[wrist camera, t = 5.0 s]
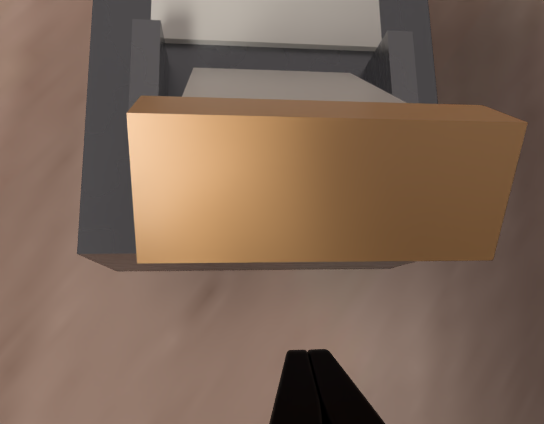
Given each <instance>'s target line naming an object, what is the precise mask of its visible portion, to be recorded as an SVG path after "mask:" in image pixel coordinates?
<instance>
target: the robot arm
mask: <svg viewBox="0 0 544 424" xmlns="http://www.w3.org/2000/svg"><path fill="white" fill-rule="evenodd" d="M269 424H385V423H384V422H383V420H382V419H381V418H380V416H379V415H378V414H377V412H376V411H375V410H374V409H373V407H372V406H371V405H370V403H369V402H368V401H367V400H366V398H365V397H364V396H363V394H362V393H361V392H360V390H359V389H358V388H357V387H356V385H355V384H354V383H353V381H352V380H351V379H350V377H349V376H348V375H347V374H346V372H345V371H344V370H343V368H342V367H341V366H340V365H339V363H338V362H337V361H336V359H335V358H334V357H333V355H332V354H331V353H330V352H329V351H328V350H326V349H315V350H309V351H308V352H307V351H306V350H289V351H288V352H287V354H286V358H285V362H284V366H283V370H282V374H281V378H280V382H279V386H278V390H277V394H276V398H275V403H274V407H273V411H272V415H271V419H270V423H269Z"/></svg>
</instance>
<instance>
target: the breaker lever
mask: <svg viewBox="0 0 544 424" xmlns="http://www.w3.org/2000/svg"><path fill="white" fill-rule="evenodd" d="M126 114H127V128H128V142H129V156H130V170H131V184H132V198H133V212H134V226H135V240H136V254H137V263H251V262H365V261H479V260H493V259H494V255H495V251H496V247H497V243H498V239H499V235H500V231H501V227H502V223H503V219H504V215H505V211H506V207H507V203H508V199H509V195H510V191H511V187H512V183H513V179H514V175H515V171H516V167H517V163H518V159H519V155H520V151H521V147H522V143H523V140H524V136H525V132H526V128H527V124H528V122H525V121H522V120H520V119H517V118H515V117H512V116H509V115H507V114H504V113H502V112H499V111H496V110H494V109H491V108H489V107H486V106H483V105H459V104H424V103H406V102H404V101H402V100H401V99H399V98H397V97H395V96H393V95H391V94H389V93H387V92H385V91H384V90H382V89H380V88H378V87H376V86H374V85H372V84H370V83H368V82H366V81H365V80H363V79H361V78H359V77H357V76H355V75H353V74H351V73H339V72H310V71H281V70H252V69H223V68H195V67H194V68H193V70H192V73H191V75H190V78H189V80H188V83H187V85H186V88H185V90H184V93H183V95H182V97H174V96H140V97H139V99H138V100H137V101H136V102H135V103H134V104H133V106H132V107H131V108H130V109H129V110H128V112H127V113H126Z"/></svg>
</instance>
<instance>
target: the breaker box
mask: <svg viewBox="0 0 544 424" xmlns="http://www.w3.org/2000/svg"><path fill="white" fill-rule="evenodd" d="M194 67H195V68H223V69H252V70H281V71H310V72H339V73H351V74H353V75H355V76H357V77H359V78H361V79H363V80H365V81H366V82H368V83H370V84H372V85H374V86H376V87H378V88H380V89H382V90H384V91H385V92H387V93H389V94H391V95H393V96H395V97H397V98H399V99H401V100H402V101H404V102H406V103H424V104H438V100H437V90H436V79H435V69H434V59H433V48H432V38H431V28H430V17H429V7H428V0H93V8H92V24H91V40H90V56H89V72H88V88H87V104H86V120H85V136H84V152H83V168H82V184H81V200H80V216H79V231H78V247H77V254H78V255H81V256H83V257H85V258H88V259H90V260H92V261H94V262H97V263H99V264H101V265H104V266H106V267H108V268H111V269H113V270H115V271H194V270H290V269H385V268H394V267H397V266H401V265H405V264H408V263H412V262H415V261H365V262H251V263H137V254H136V240H135V226H134V212H133V198H132V184H131V170H130V156H129V142H128V128H127V114H126V113H127V112H128V110H129V109H130V108H131V107H132V106H133V104H134V103H135V102H136V101H137V100H138V99H139V97H140V96H174V97H182V95H183V93H184V90H185V88H186V85H187V83H188V80H189V78H190V75H191V73H192V70H193V68H194Z"/></svg>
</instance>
